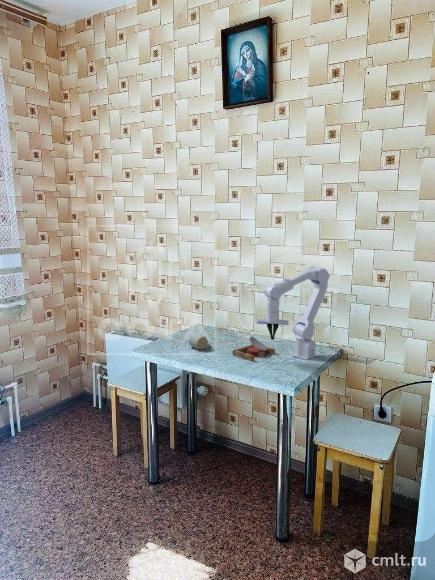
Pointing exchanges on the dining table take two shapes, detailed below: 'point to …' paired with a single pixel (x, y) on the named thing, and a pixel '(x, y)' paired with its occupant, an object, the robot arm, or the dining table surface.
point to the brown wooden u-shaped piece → (242, 354)
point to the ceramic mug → (198, 341)
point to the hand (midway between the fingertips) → (272, 339)
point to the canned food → (256, 348)
